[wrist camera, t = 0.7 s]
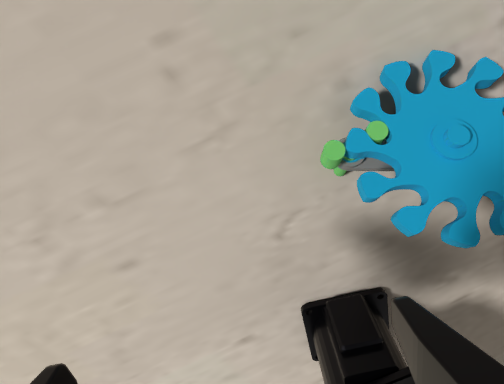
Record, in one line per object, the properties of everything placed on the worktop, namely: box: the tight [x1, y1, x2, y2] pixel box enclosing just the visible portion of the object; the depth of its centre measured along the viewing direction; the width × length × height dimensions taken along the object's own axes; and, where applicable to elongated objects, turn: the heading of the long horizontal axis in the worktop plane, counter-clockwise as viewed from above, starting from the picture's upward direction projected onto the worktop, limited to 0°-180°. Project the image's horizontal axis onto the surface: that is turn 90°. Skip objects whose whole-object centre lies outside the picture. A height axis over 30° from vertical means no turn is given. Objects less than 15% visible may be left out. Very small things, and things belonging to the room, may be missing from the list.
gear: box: [320, 50, 504, 248], centre depth 19 cm, size 11×6×10 cm
